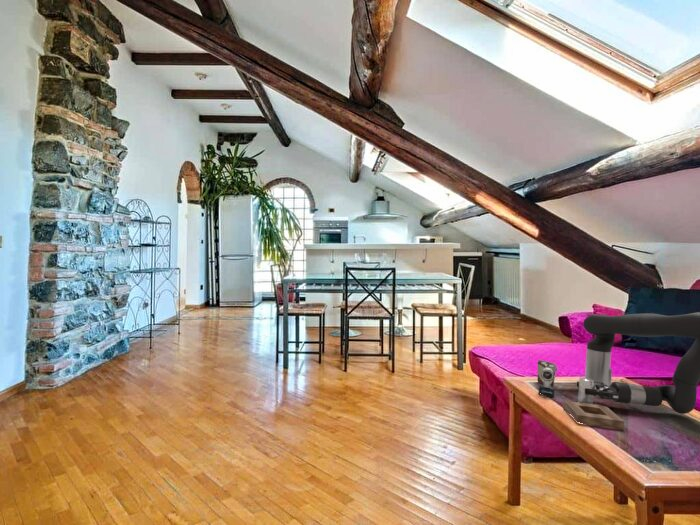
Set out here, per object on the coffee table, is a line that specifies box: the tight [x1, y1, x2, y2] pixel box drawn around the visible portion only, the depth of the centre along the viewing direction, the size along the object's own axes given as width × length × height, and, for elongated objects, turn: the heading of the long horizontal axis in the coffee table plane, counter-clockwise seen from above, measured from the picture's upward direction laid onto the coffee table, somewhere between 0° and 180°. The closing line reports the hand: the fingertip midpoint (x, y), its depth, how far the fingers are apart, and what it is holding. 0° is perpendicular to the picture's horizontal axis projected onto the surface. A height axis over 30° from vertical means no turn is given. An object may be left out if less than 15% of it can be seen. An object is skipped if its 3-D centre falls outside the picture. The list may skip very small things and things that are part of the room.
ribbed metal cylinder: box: [577, 377, 594, 404], centre depth 147 cm, size 5×5×10 cm
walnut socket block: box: [563, 400, 625, 431], centre depth 133 cm, size 14×14×4 cm
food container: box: [536, 359, 558, 387], centre depth 169 cm, size 12×6×10 cm, turn 171°
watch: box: [538, 367, 556, 398], centre depth 157 cm, size 6×8×11 cm
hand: (580, 387), depth 148 cm, fingers open, 8 cm apart
